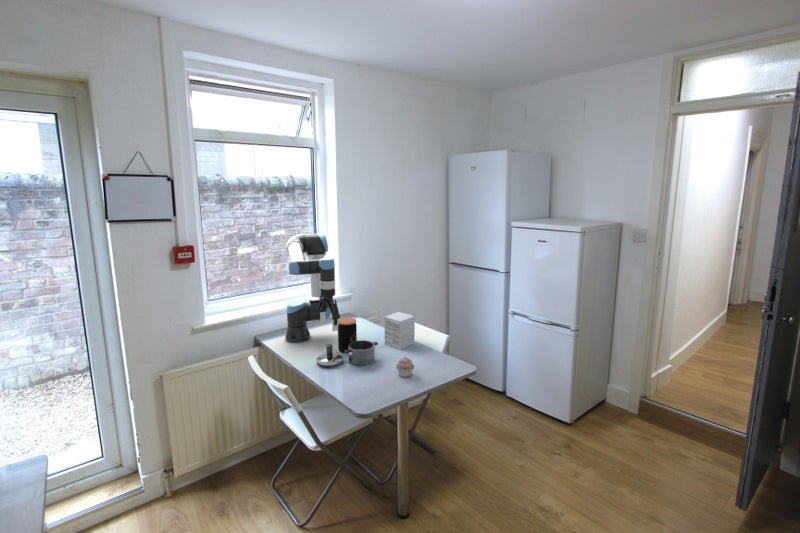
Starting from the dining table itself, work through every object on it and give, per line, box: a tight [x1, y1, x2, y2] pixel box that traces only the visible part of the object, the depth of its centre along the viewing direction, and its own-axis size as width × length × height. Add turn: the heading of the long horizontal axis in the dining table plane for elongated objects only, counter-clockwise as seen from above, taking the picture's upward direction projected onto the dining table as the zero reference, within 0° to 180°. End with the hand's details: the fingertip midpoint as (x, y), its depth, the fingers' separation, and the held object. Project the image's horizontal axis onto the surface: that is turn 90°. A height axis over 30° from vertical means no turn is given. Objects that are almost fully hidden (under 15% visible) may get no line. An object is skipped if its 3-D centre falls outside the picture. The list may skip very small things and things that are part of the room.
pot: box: [343, 339, 379, 367], centre depth 217 cm, size 20×14×9 cm
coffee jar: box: [337, 317, 358, 354], centre depth 230 cm, size 11×11×18 cm
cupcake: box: [395, 356, 415, 379], centre depth 201 cm, size 9×9×10 cm
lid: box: [316, 343, 344, 368], centre depth 214 cm, size 14×14×10 cm
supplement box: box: [384, 311, 416, 350], centre depth 240 cm, size 13×13×18 cm
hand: (329, 327), depth 211 cm, fingers open, 13 cm apart
